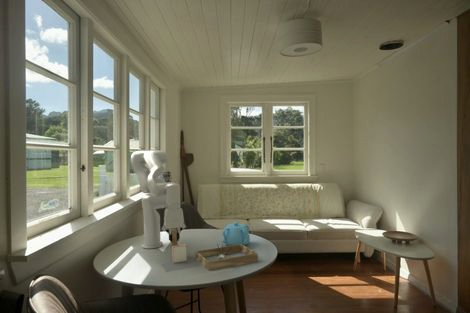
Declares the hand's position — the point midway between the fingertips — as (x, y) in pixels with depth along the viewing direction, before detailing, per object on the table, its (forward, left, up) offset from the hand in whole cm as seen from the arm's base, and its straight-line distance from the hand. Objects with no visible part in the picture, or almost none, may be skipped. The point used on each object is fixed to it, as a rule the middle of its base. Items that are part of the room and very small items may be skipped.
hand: (174, 240), depth 156 cm
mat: (+15, -1, -9) cm, 17 cm away
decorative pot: (-2, +38, -9) cm, 39 cm away
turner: (+4, 0, -2) cm, 4 cm away
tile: (+11, 0, -8) cm, 13 cm away
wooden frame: (+19, +22, -9) cm, 30 cm away
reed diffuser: (+17, +22, -9) cm, 29 cm away
